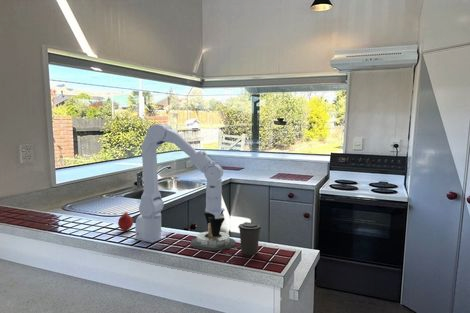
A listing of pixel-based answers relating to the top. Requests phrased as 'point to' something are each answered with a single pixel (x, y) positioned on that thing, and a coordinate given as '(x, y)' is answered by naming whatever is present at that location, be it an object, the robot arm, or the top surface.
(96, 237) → the top surface
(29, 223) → the top surface
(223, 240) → the rosette
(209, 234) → the peg
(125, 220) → the onion
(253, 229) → the coffee cup
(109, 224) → the top surface
